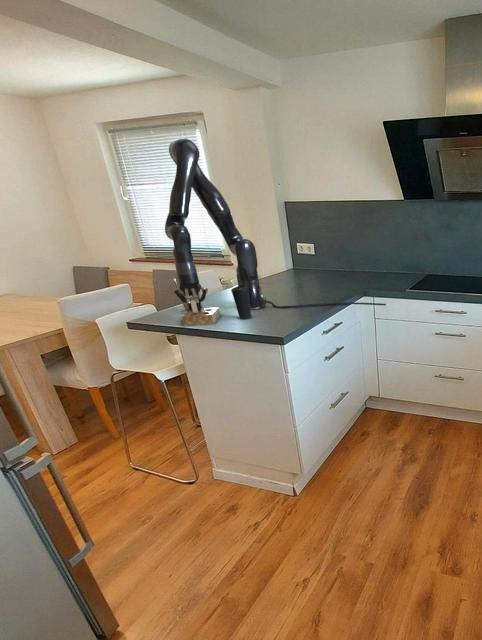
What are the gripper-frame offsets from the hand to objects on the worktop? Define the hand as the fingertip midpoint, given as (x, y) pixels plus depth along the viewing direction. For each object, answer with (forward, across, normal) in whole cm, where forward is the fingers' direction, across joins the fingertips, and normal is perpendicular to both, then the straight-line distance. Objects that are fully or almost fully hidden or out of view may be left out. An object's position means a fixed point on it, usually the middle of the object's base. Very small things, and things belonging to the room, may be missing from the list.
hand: (196, 310), depth 172 cm
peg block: (+4, +3, -2) cm, 5 cm away
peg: (+4, 0, 0) cm, 4 cm away
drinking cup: (+4, +21, -2) cm, 21 cm away
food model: (+4, -6, +18) cm, 19 cm away
